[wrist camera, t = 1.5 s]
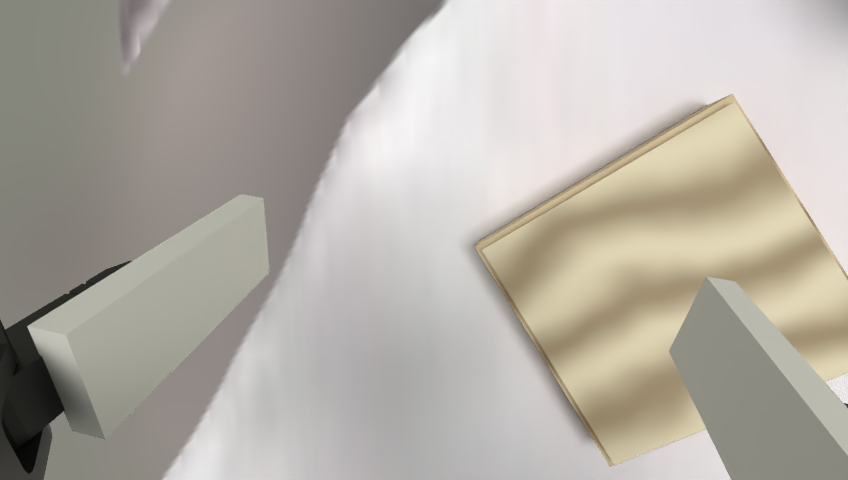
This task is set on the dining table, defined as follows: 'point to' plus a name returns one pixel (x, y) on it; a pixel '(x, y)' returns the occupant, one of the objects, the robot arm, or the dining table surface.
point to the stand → (665, 273)
